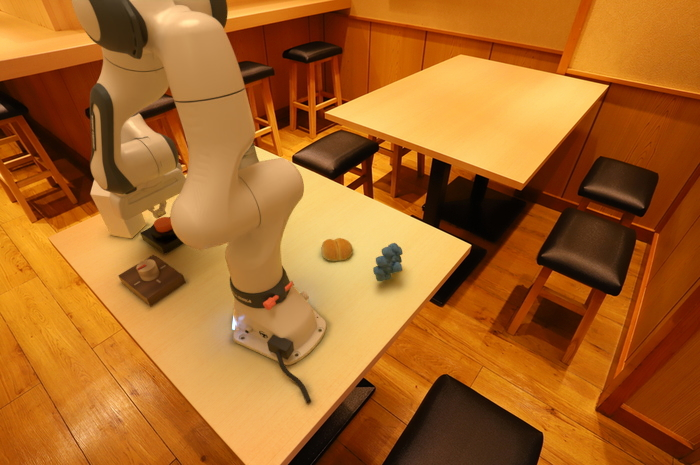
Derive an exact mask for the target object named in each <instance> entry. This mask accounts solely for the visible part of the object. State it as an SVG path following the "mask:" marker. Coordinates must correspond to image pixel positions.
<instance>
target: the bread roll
mask: <svg viewBox="0 0 700 465" xmlns="http://www.w3.org/2000/svg"><path fill="white" fill-rule="evenodd" d="M352 245H353V244H352V243H351V242H350V241H349V240H348V239H345V238H341V237H338V238H337V237H336V238H334V239H333V238H330V239H329V238H328V239H325V240H324V241H323V242H322V244H321V248H320V251H321V257H322V258H323V259H325V260H328V261H330V262H336V261H346V260H348V259H349V258H350V256H351V255H352V253H353V246H352Z"/></svg>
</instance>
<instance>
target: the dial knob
mask: <svg viewBox="0 0 700 465" xmlns="http://www.w3.org/2000/svg"><path fill="white" fill-rule="evenodd" d="M138 263H139V264H138ZM138 263H137V264H138V265H137V264H136V265H137V267H136V269H137V271H138V273H139V275H140V277H141V279H142V280H143V281H152V280H154V279H156V278H157V277H158V276H159V274H160V272H159V270H158V267H157V265H156V263H155V261H154V260H151V259H148V260H145V259H144V260H142V261H140V262H138Z"/></svg>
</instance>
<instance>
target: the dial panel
mask: <svg viewBox="0 0 700 465" xmlns="http://www.w3.org/2000/svg"><path fill="white" fill-rule="evenodd" d="M148 259H151V260H154V261H155V263H156V265H157V267H158V270H159V272H160V274H159V276H158V277H157V278H156V279H154V280H152V281H143V280H142V279H141V277H140V275H139V273H138V271H137V269H136V267H137V265H138V264H139V263H140V262H138V263H137V264H135V265H133V266H132V267H129V268H128V269H126V270H125V271H123V272H122V273H120V274H118V275H117V277H118V278H119V280H120V282H121V283H122V285H124V286H125V287H126V288H128V290H129V291H130V292H132V293H133V294H134V295H136V296H137V297H138V298H139V299H140V300H142V301H143V302H144V303H146V304H147V305H148V306H149V307H150V308H151V307H153V306H154V305H156V304H157V303H158V302H160V301H161V300H163V299H165V297H168V296H169V295H170V294H171V293H173V292H175V291H176V290H178V289H179V288H181V287H182V286H184V285H185V284H186V280H185V278H184V275H183V273H181V272H179V270H176V269H175V268H174V267H172V266H171V265H169V264H168V263H167V262H166V261H163V259H161V258H160V257H158V256H157V255H156V254H152V255H150V256H149V257H146V258H145V259H144V260H148Z"/></svg>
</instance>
